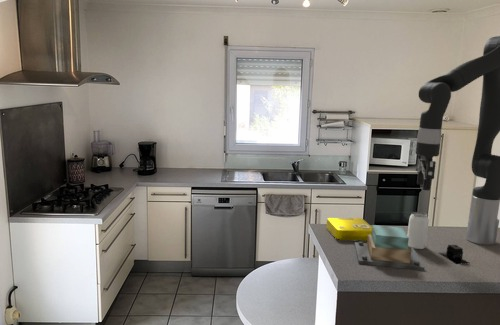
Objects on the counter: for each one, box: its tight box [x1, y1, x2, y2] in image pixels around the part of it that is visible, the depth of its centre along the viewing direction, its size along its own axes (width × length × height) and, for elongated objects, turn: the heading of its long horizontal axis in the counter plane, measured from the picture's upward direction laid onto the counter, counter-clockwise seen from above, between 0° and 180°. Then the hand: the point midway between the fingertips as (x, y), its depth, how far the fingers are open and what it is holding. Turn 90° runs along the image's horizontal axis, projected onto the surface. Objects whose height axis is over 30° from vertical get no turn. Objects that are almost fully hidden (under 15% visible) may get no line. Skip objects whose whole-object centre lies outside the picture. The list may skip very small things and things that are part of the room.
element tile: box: [326, 217, 372, 242], centre depth 159 cm, size 15×15×5 cm
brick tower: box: [353, 224, 425, 271], centre depth 137 cm, size 20×16×9 cm
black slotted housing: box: [438, 244, 470, 265], centre depth 139 cm, size 12×7×5 cm, turn 12°
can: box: [406, 211, 430, 250], centre depth 147 cm, size 6×6×12 cm
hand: (423, 187), depth 144 cm, fingers open, 8 cm apart
